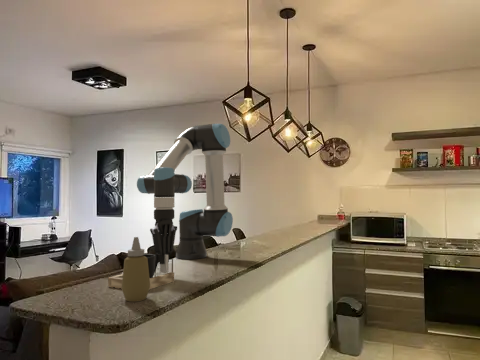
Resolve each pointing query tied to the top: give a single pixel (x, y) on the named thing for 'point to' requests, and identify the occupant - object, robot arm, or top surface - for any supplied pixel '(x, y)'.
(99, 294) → the top surface
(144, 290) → the squeeze bottle
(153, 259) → the mug
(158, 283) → the tray
